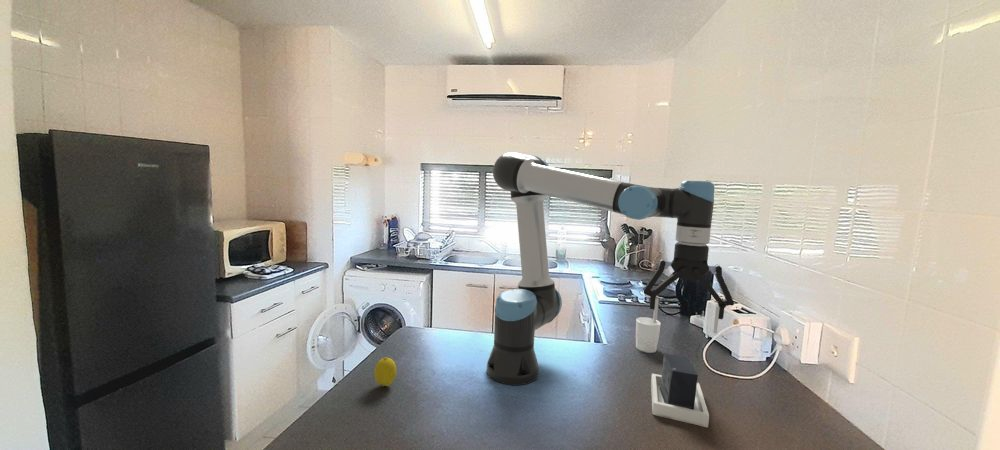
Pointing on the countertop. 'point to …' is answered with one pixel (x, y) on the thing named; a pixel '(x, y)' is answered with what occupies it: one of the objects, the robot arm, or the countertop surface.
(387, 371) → the lemon
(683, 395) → the small box
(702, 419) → the parts tray
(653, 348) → the white cup
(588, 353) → the countertop surface
